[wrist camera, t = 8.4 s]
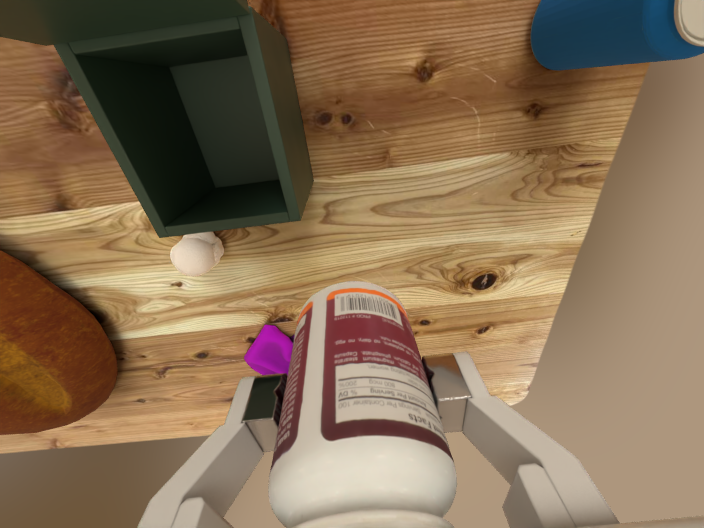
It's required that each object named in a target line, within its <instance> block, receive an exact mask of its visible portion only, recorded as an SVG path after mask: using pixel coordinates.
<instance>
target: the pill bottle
mask: <svg viewBox="0 0 704 528" xmlns="http://www.w3.org/2000/svg"><path fill="white" fill-rule="evenodd" d="M456 487H457V478H456V470H455V466H454V461H453V458H452V456H451V453H450V450H449V445H448V443H447V440H446V437H445V434H444V430H443V426H442V423H441V420H440V417H439V414H438V410H437V407H436V404H435V401H434V398H433V395H432V391H431V389H430V386H429V383H428V379H427V376H426V373H425V370H424V367H423V363H422V360H421V357H420V354H419V351H418V347H417V344H416V341H415V338H414V335H413V332H412V329H411V326H410V323H409V320H408V316H407V313H406V311H405V308H404V307H403V305H402V303H401V302H400V301H399V299H398V298H397V297H396V296H395V295H394V294H393V293H391V292H390V291H388V290H387V289H385V288H383V287H381V286H378V285H376V284H373V283H368V282H360V281H348V282H342V283H338V284H334V285H331V286H328V287H326V288H324V289H322V290H320V291H318V292H317V293H315V294H314V295H312V296H311V297H310V298H309V299H308V301H307V302H306V303H305V305H304V306H303V308H302V310H301V311H300V314H299V317H298V321H297V327H296V332H295V336H294V343H293V349H292V355H291V360H290V366H289V371H288V377H287V382H286V388H285V393H284V398H283V404H282V410H281V416H280V421H279V427H278V432H277V437H276V443H275V447H274V455H273V461H272V466H271V471H270V476H269V499H270V504H271V507H272V510H273V511H274V514H275V515H276V517H277V518H278V520H279V521H280V522H281V523H282V524H283V525H284V526H285V527H286V528H454V526H453V525H452V524H451V523H450V522H448V521H447V520H445V519H443V516H444V515H445V514H446V513H447V512H448V510H449V509H450V507H451V505H452V503H453V500H454V497H455V494H456Z"/></svg>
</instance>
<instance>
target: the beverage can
mask: <svg viewBox="0 0 704 528" xmlns="http://www.w3.org/2000/svg"><path fill="white" fill-rule="evenodd" d="M531 47H532V51H533V54H534V56H535V58H536V59H537V61H538V62H539V63H540V64H541V65H542V66H544V67H546V68H548V69H551V70H569V69H580V68H591V67H601V66H612V65H623V64H634V63H645V62H656V61H666V60H678V59H685V58H690V57H693V56H697V55H699V54H702V53H704V0H541V1H540V3H539V5H538V7H537V10H536V12H535V15H534V19H533V22H532V27H531Z"/></svg>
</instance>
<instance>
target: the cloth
mask: <svg viewBox="0 0 704 528" xmlns="http://www.w3.org/2000/svg"><path fill="white" fill-rule="evenodd" d="M294 336H295V335H293V336H291V337H290V338H289V337H288V336H286V335H285V334H284V333H282V332H281V331H280V330H279V329H278V328H277V327H276V326H273V325H264V327H263V329H262V330H261V332H260V334H259V335H258V337H257V338H256V340H255V341H254V343H253V344H252V346H251V347H250V349H249V350H248V352H247V353H246V354H245V356H244V360H245V361H246V362H247V364H248V365H249V366H250V367H251V368H252V369H254V370H255V371H256V372H258V373H260V374H262V375H271V374H282V373H287V376H288V371H289V366H290V360H291V355H292V349H293V343H294Z"/></svg>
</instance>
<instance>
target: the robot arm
mask: <svg viewBox="0 0 704 528" xmlns="http://www.w3.org/2000/svg"><path fill="white" fill-rule="evenodd" d="M422 363H423V367H424V370H425V373H426V376H427V379H428V383H429V386H430V389H431V391H432V395H433V398H434V401H435V404H436V407H437V410H438V414H439V417H440V420H441V423H442V426H443V430H444V433H447V432H459V431H463V434H464V435H465V436H466V437H467V438H468V439H469V440H470V441H471V443H472V444H473V445H474V446H475V447H476V448H477V449H478V450H479V451H480V452H481V453H482V454H483V456H484V457H485V458H486V459H487V460H488V461H489V462H490V463H491V464H492V465H493V466H494V467H495V468H496V470H497V471H498V472H499V473H500V474H501V475H502V476H503V477H504V478H505V479H506V480H507V482H508V483H509V484H510V485H511V487H510V489H509V492H508V494H507V497H506V499H505V502H504V504H503V511H504V513H505V516H506V518H507V521H508V524H509V526H510V528H704V516H696V517H684V518H673V519H664V520H652V521H641V522H631V523H619V521H618V520H617V518H616V517H615V515H614V513H613V512H612V510H611V509H610V507H609V506H608V504H607V503H606V501H605V500H604V498H603V497H602V495H601V493H600V492H599V490H598V489H597V487H596V486H595V484H594V483H593V481H592V480H591V478H590V477H589V475H588V474H587V472H586V470H585V469H584V467H583V466H582V464H581V463H580V461H579V460H578V458H577V457H576V456H574V455H573V454H571V453H570V452H569V451H568V450H566V449H565V448H564V447H563V446H561V445H560V444H559V443H557V442H556V441H555V440H553V439H552V438H551V437H549V436H548V435H547V434H545V433H544V432H543V431H542V430H540V429H539V428H538V427H536V426H535V425H534V424H532V423H531V422H530V421H528V420H527V419H526V418H524V417H523V416H522V415H520V414H519V413H518V412H517V411H515V410H514V409H512V408H511V407H510V406H509V405H507V404H506V403H505V402H503V401H502V400H501V399H499V398H498V397H497V396H496V395H493V396H490V394H489V392H488V390H487V388H486V386H485V384H484V382H483V380H482V378H481V376H480V374H479V372H478V370H477V368H476V366H475V364H474V362H473V360H472V358H471V356H470V354H469V353H468V352H467V351H465V352H457V353H446V354H438V355H430V356H423V357H422ZM287 377H288V376H287V373H282V374H271V375H260V376H250V377H242V379H241V380H240V381H239V384H238V386H237V389H236V392H235V395H234V398H233V401H232V403H231V406H230V409H229V412H228V415H227V418H226V420H225V423H224V425H221V426H219V427H218V428H217V429H216V430H215V431H214V432H213V433H212V434H211V435H210V437H209V438H208V439H207V440H206V441H205V442H204V443H203V444H202V445H201V446H200V447H199V448H198V449H197V450H196V451H195V453H194V454H193V455H192V456H191V457H190V458H189V459H188V460H187V461H186V462H185V463H184V464H183V466H182V467H181V468H180V469H179V470H178V471H177V472H176V473H175V474H174V475H173V476H172V477H171V478H170V479H169V480H168V482H167V483H166V484H165V485H164V486H163V487H162V488H161V489H160V490H159V491H158V492H157V493H156V494H155V496H154V497H153V498H152V499H151V500H150V502H149V504H148V506H147V508H146V510H145V512H144V514H143V517H142V519H141V521H140V523H139V525H138V527H137V528H233V526H232V525H230V524H229V523H228V522H227V521H226V520H225V519H224V518H223V517H224V515H225V514H226V512H227V510H228V509H229V508H230V506H231V505H232V503H233V502H234V500H235V498H236V497H237V495H238V494H239V492H240V491H241V489H242V488H243V486H244V484H245V483H246V481H247V480H248V478H249V477H250V475H251V473H252V472H253V470H254V469H255V467H256V466H257V464H258V462H259V461H260V459H261V458H262V456H263V455H264V453H263V452H270V451H274V447H275V443H276V437H277V432H278V427H279V421H280V416H281V410H282V404H283V398H284V393H285V388H286V382H287Z"/></svg>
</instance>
